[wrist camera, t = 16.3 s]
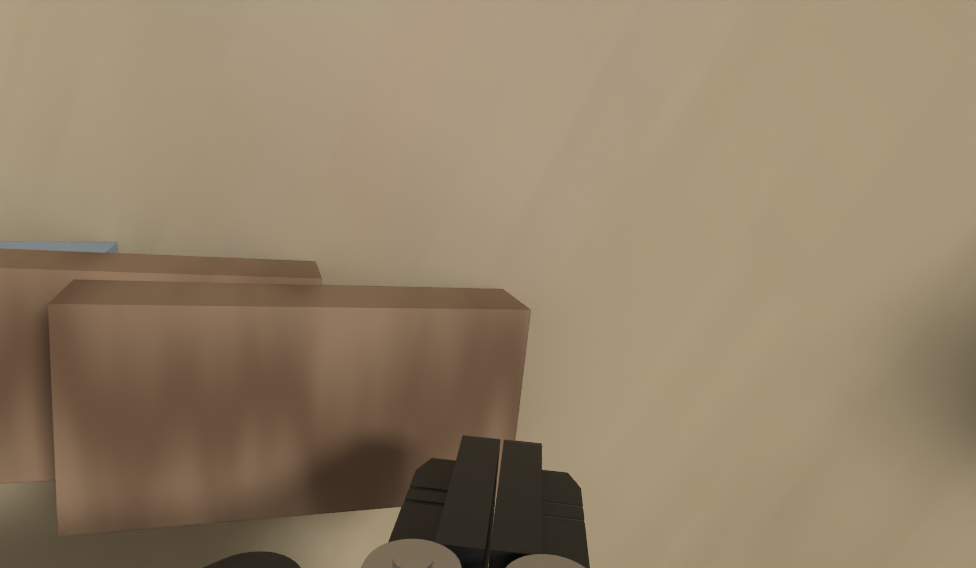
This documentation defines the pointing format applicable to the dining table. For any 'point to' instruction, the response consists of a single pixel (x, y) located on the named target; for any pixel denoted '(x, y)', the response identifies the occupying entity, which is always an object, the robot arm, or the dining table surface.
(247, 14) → the dining table surface
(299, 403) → the tile
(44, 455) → the tile
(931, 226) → the dining table surface
